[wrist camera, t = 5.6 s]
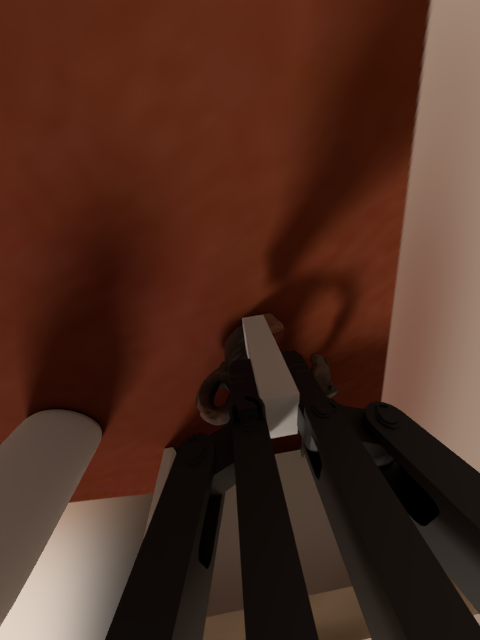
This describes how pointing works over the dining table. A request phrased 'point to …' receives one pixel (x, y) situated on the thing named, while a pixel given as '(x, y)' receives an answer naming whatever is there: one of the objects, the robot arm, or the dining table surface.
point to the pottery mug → (237, 351)
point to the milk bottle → (38, 488)
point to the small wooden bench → (314, 552)
